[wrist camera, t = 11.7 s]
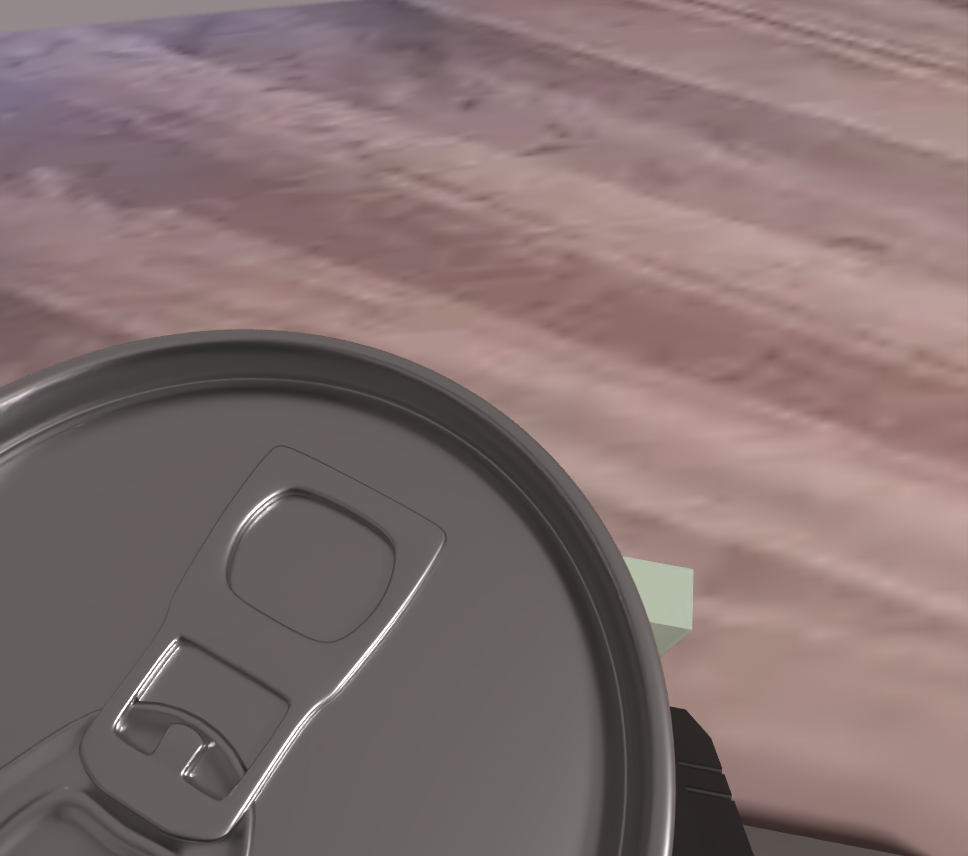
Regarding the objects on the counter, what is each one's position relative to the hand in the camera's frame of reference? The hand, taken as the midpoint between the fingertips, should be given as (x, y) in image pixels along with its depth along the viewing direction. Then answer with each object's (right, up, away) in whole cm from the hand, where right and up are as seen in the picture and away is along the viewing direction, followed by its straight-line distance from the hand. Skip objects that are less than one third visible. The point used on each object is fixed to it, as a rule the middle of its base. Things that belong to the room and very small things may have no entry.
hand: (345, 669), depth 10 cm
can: (-1, -5, +5) cm, 7 cm away
